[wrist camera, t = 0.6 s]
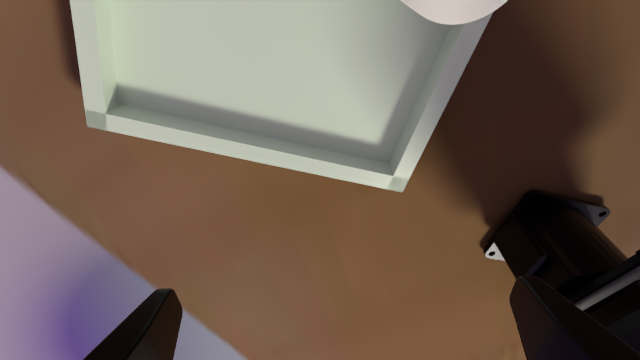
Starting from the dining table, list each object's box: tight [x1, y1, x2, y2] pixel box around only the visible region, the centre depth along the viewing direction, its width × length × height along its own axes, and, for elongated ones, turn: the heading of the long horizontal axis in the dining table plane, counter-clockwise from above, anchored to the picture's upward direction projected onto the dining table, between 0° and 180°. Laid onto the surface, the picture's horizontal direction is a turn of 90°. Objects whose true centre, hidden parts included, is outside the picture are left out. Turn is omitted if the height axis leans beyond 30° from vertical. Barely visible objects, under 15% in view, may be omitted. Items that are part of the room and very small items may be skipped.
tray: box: [70, 0, 494, 192], centre depth 16 cm, size 18×16×2 cm
